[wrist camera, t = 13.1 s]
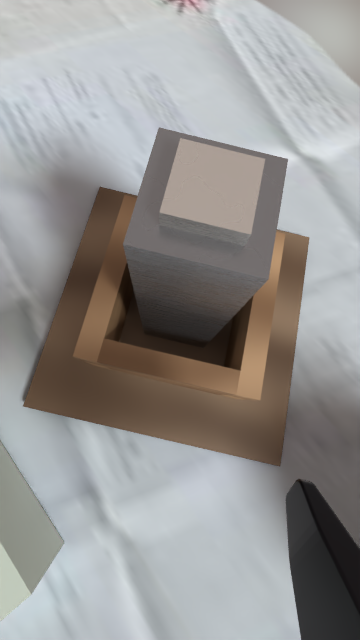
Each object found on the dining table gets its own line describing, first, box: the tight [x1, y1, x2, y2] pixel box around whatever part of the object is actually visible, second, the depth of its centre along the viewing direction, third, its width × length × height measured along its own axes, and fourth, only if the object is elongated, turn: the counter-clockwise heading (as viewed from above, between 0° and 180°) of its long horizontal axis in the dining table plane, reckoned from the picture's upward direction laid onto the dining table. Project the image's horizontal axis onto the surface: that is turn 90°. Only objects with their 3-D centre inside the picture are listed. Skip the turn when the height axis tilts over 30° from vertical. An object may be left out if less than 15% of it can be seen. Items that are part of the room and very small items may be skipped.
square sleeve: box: [23, 187, 309, 466], centre depth 18 cm, size 16×16×5 cm
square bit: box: [123, 128, 288, 348], centre depth 14 cm, size 4×4×13 cm
